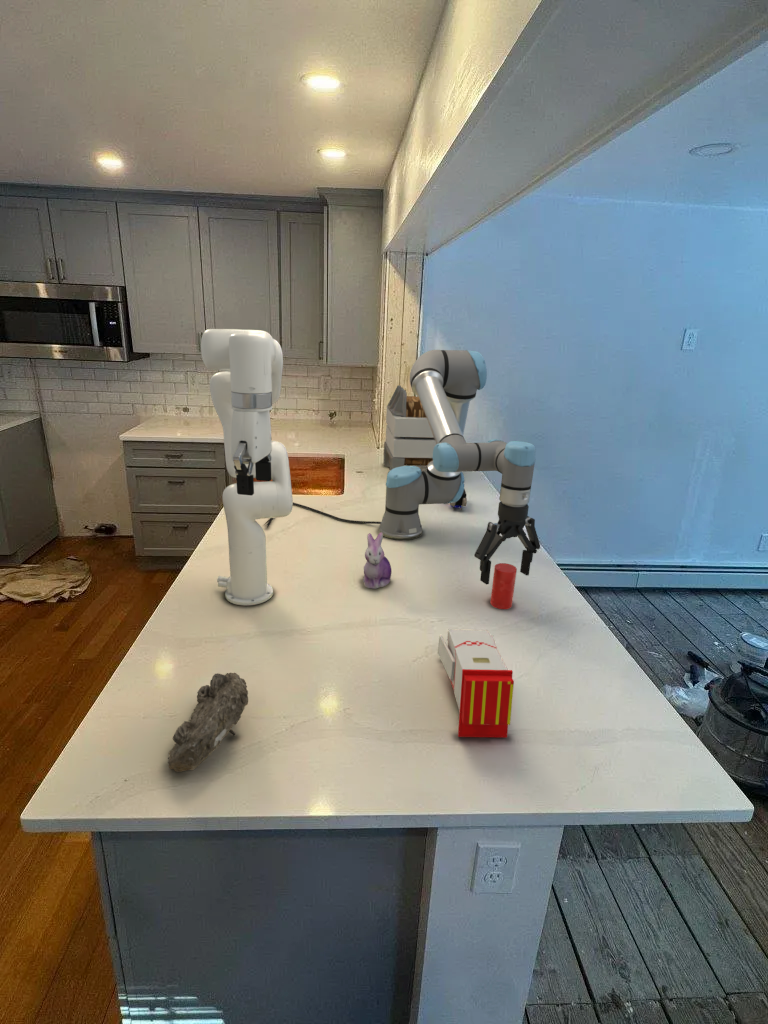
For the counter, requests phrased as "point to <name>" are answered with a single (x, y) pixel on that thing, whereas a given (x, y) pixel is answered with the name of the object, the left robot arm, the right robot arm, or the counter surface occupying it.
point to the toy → (478, 682)
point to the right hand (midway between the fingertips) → (504, 577)
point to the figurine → (376, 564)
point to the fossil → (209, 721)
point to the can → (503, 586)
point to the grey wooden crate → (407, 432)
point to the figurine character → (460, 501)
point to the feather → (269, 522)
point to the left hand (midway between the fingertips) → (255, 487)
